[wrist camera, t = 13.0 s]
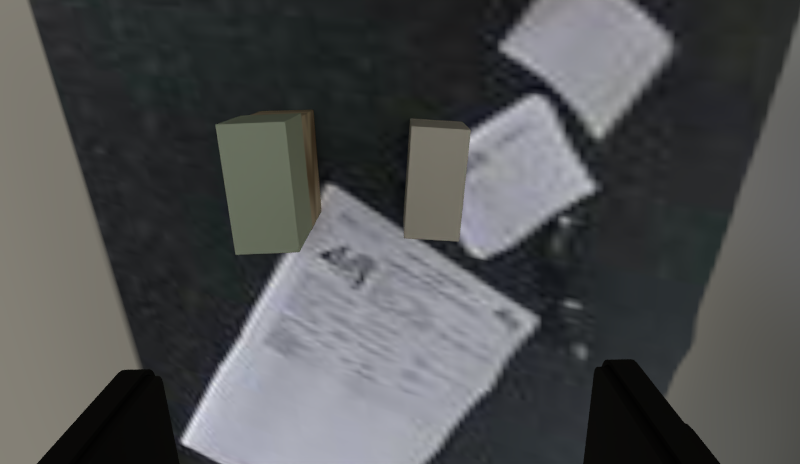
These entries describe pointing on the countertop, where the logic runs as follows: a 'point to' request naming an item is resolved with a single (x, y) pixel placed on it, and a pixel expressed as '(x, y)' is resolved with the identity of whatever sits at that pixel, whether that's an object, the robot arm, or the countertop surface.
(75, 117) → the countertop surface
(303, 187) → the sage brick
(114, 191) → the countertop surface
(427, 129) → the offwhite brick
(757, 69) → the countertop surface
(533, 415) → the countertop surface
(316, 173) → the beech brick
